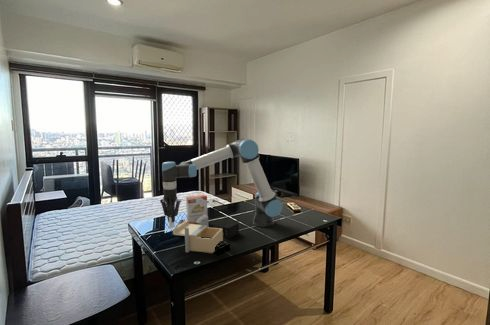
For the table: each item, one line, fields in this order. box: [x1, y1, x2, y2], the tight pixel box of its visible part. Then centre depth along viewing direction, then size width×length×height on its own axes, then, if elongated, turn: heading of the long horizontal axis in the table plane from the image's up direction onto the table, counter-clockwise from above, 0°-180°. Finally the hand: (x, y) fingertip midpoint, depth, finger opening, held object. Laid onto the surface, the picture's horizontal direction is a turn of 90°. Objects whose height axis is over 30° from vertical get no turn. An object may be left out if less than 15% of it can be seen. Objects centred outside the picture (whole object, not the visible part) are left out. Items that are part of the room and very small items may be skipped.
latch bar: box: [196, 213, 208, 223], centre depth 159 cm, size 2×12×2 cm, turn 165°
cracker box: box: [185, 194, 208, 225], centre depth 183 cm, size 14×6×21 cm, turn 116°
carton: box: [184, 215, 224, 254], centre depth 152 cm, size 15×28×14 cm, turn 165°
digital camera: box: [221, 221, 240, 240], centre depth 164 cm, size 10×5×7 cm, turn 143°
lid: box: [172, 219, 207, 237], centre depth 150 cm, size 14×16×3 cm
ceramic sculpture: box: [175, 219, 186, 228], centre depth 171 cm, size 11×9×15 cm
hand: (171, 227), depth 152 cm, fingers closed
